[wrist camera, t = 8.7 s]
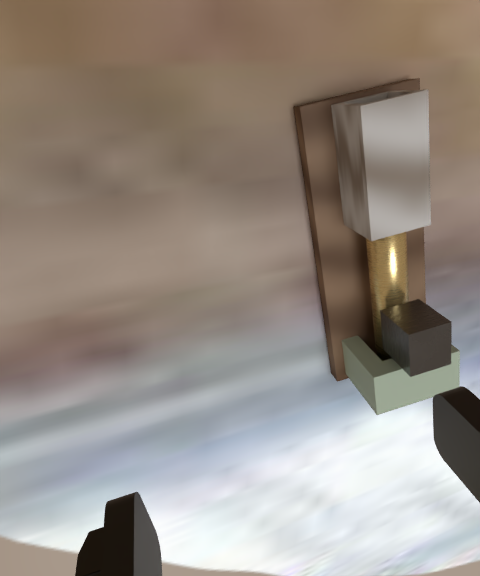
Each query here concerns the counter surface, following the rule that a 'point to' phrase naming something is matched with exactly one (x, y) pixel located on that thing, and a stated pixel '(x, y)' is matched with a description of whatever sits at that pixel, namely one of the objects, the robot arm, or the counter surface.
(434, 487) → the counter surface
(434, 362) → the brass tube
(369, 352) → the socket block
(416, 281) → the stand
